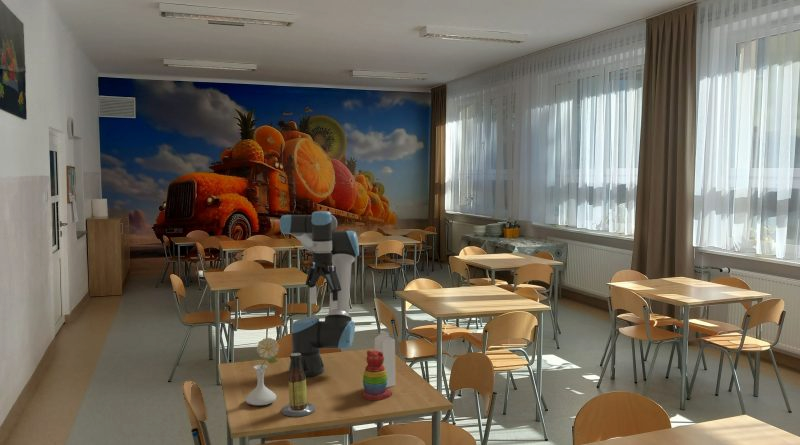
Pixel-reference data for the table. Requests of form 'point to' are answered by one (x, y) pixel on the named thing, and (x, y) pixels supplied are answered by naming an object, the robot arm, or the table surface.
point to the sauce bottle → (297, 383)
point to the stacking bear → (375, 377)
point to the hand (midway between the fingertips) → (323, 306)
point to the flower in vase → (261, 393)
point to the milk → (387, 355)
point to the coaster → (298, 411)
